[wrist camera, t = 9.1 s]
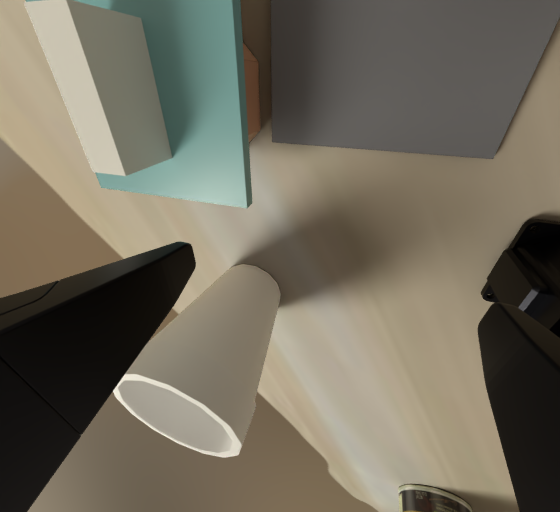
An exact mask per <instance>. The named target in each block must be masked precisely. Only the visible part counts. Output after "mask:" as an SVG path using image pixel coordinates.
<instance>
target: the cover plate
mask: <svg viewBox="0 0 560 512" xmlns="http://www.w3.org/2000/svg"><path fill="white" fill-rule="evenodd" d="M24 5H25V7H26V10H27V12H28V15H29V17H30V19H31V22H32V24H33V27H34V29H35V32H36V34H37V37H38V39H39V42H40V44H41V46H42V49H43V51H44V54H45V56H46V59H47V61H48V64H49V66H50V68H51V71H52V73H53V76H54V78H55V81H56V83H57V86H58V88H59V90H60V93H61V95H62V98H63V100H64V103H65V105H66V108H67V110H68V113H69V115H70V117H71V120H72V122H73V125H74V127H75V130H76V132H77V135H78V137H79V139H80V142H81V144H82V147H83V149H84V152H85V154H86V157H87V159H88V161H89V164H90V166H91V169H92V171H93V172H95V173H96V176H97V178H98V181H99V183H100V186H101V188H107V189H114V190H121V191H128V192H135V193H143V194H150V195H157V196H164V197H171V198H178V199H185V200H192V201H199V202H206V203H213V204H220V205H227V206H234V207H241V208H248V207H249V206H250V205H251V204H252V190H251V173H250V156H249V139H248V122H247V105H246V88H245V71H244V55H243V38H242V21H241V4H240V0H26V2H24Z"/></svg>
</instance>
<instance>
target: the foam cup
mask: <svg viewBox="0 0 560 512" xmlns="http://www.w3.org/2000/svg"><path fill="white" fill-rule="evenodd" d="M280 297H281V293H280V290H279V286H278V284H277V282H276V281H275V280H274V279H273V278H272V277H271V276H270V274H269V273H267V272H265V271H263V270H262V269H260V268H258V267H256V266H252V265H246V264H241V265H237V266H233V267H231V268H230V269H229V270H227V271H226V272H225V273H224V274H223V275H222V276H221V277H220V278H219V279H218V280H216V281H215V282H214V283H213V284H212V285H211V286H210V287H209V288H208V289H207V290H205V291H204V292H203V293H202V294H201V295H200V296H199V297H198V298H197V299H196V300H194V301H193V302H192V303H191V304H190V305H189V306H188V307H187V308H186V309H185V310H183V311H182V312H181V313H180V314H179V315H178V316H177V317H176V318H175V319H174V320H173V321H171V322H170V323H169V324H168V325H167V326H166V327H165V328H164V329H163V330H161V331H160V332H159V333H158V334H157V335H156V336H155V337H154V338H153V339H152V340H150V341H149V342H148V343H147V344H146V345H145V347H144V348H143V350H142V351H141V352H140V354H139V355H138V357H137V358H136V359H135V361H134V362H133V364H132V365H131V366H130V368H129V369H128V371H127V372H126V373H125V375H124V376H123V378H122V379H121V381H120V382H119V383H118V385H117V386H116V388H115V389H114V390H113V392H114V394H115V396H116V398H117V399H118V400H119V401H120V402H121V403H122V404H123V405H124V406H125V407H126V408H127V409H128V410H129V412H130V413H131V414H133V415H134V416H135V417H137V418H138V419H139V420H141V421H142V422H144V423H145V424H146V425H148V426H149V427H150V428H152V429H153V430H155V431H157V432H159V433H160V434H162V435H164V436H166V437H167V438H170V439H171V440H173V441H175V442H176V443H178V444H181V445H183V446H186V447H188V448H191V449H193V450H196V451H198V452H201V453H204V454H209V455H214V456H219V457H223V458H224V457H230V456H236V455H239V452H240V449H241V446H242V444H243V441H244V438H245V436H246V433H247V430H248V428H249V425H250V422H251V420H252V417H253V414H254V411H255V408H256V404H255V402H254V401H255V397H256V393H257V389H258V385H259V381H260V377H261V373H262V369H263V365H264V361H265V357H266V353H267V349H268V345H269V341H270V337H271V333H272V329H273V325H274V321H275V317H276V313H277V309H278V305H279V302H280Z"/></svg>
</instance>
